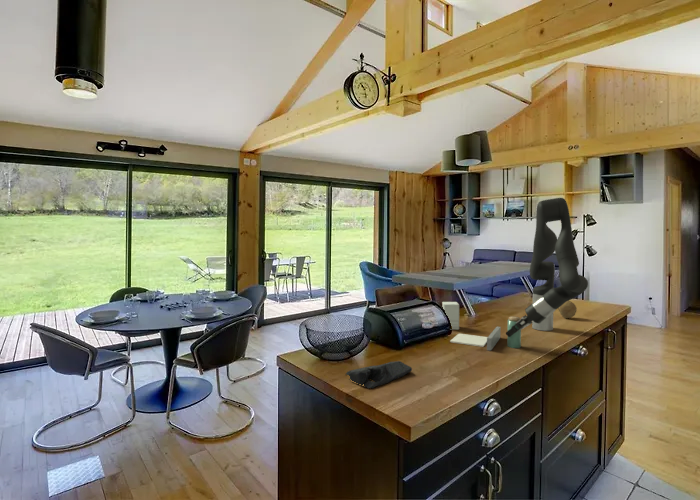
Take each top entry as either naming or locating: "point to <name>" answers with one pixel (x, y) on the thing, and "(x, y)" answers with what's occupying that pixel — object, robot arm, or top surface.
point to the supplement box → (452, 313)
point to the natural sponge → (567, 309)
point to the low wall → (493, 338)
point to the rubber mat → (470, 340)
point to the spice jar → (515, 339)
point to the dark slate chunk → (379, 373)
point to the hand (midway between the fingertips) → (510, 333)
